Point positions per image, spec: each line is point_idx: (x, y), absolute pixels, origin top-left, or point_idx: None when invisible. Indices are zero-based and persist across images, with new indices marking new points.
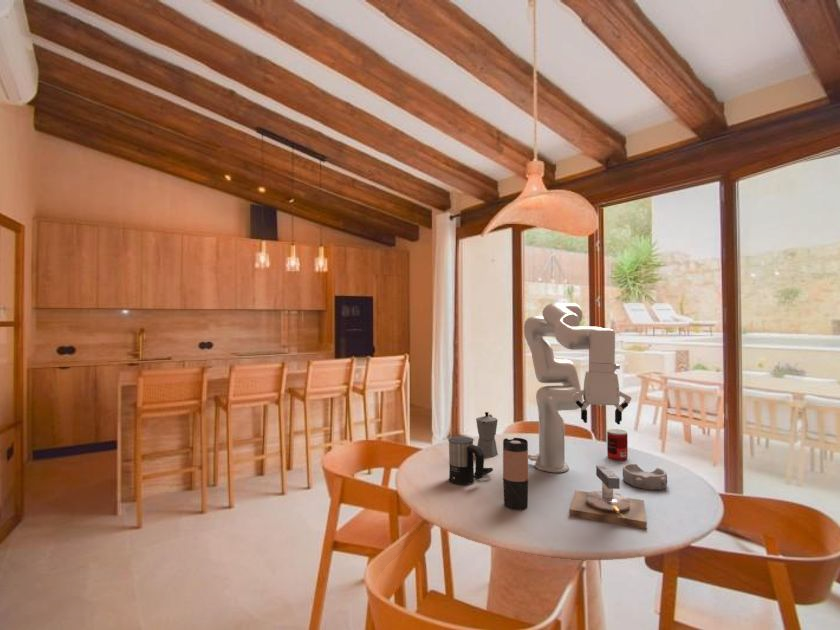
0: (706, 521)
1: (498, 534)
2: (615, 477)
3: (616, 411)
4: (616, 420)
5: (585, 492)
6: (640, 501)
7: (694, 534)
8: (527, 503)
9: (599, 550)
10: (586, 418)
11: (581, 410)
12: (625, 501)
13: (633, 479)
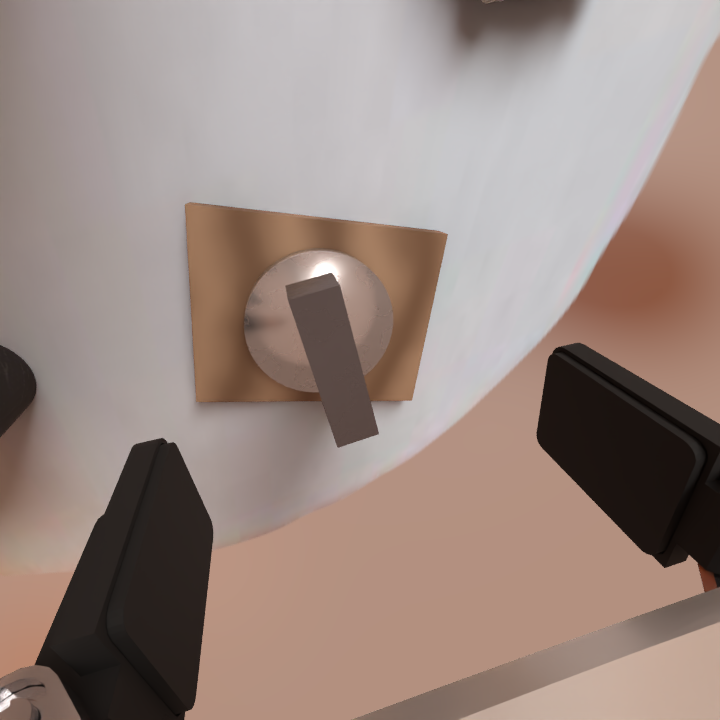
0: (571, 284)
1: (38, 554)
2: (364, 430)
3: (664, 512)
4: (561, 428)
5: (233, 220)
6: (432, 250)
7: (506, 374)
8: (28, 386)
9: (288, 518)
10: (200, 583)
11: (61, 672)
12: (378, 332)
13: None
